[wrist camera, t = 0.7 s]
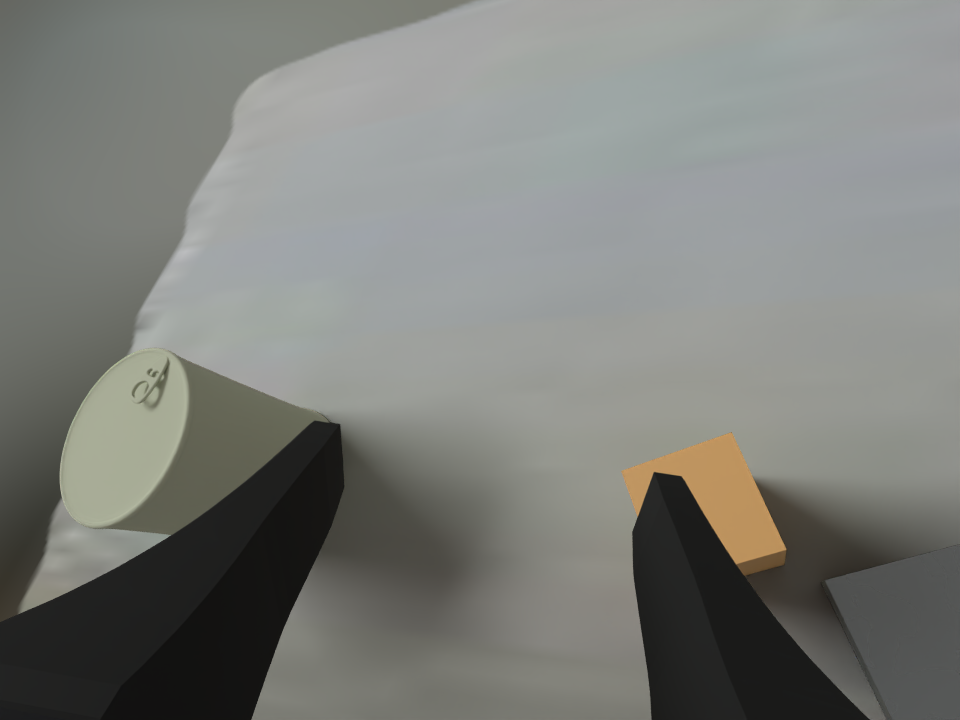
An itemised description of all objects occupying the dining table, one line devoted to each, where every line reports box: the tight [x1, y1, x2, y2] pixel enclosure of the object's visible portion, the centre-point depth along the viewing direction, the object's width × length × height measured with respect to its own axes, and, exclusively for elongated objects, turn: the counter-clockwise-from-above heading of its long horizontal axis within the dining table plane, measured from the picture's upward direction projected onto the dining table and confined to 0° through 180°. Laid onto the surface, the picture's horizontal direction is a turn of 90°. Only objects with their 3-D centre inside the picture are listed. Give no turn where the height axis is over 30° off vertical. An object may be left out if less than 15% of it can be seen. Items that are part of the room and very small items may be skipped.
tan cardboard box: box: [621, 432, 786, 576], centre depth 23 cm, size 4×4×8 cm
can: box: [60, 348, 330, 535], centre depth 33 cm, size 9×9×12 cm
